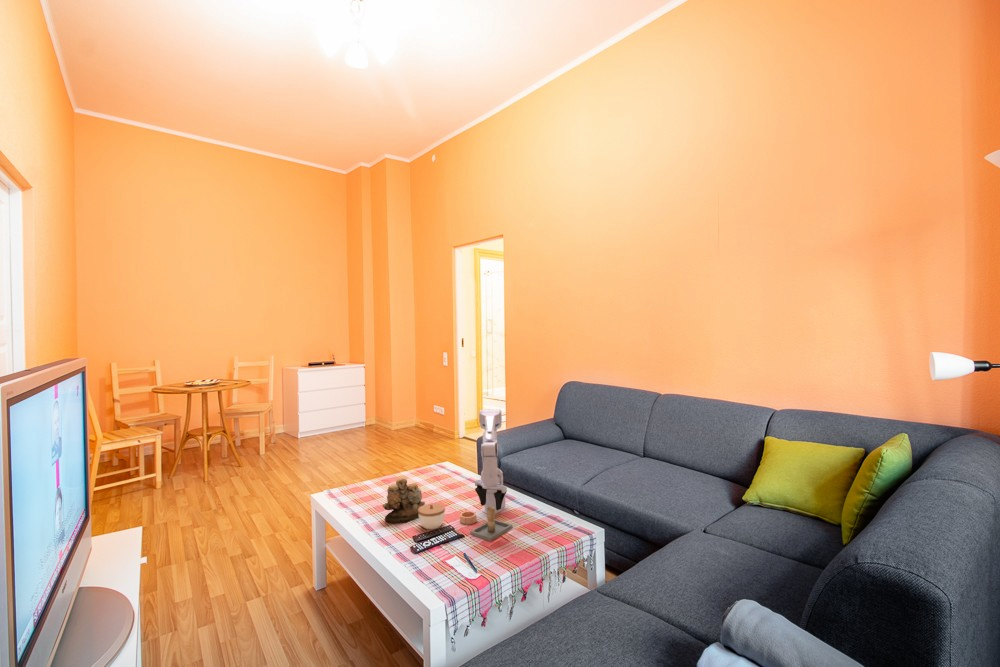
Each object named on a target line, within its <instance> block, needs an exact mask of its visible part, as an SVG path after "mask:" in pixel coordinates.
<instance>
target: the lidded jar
mask: <svg viewBox="0 0 1000 667" xmlns="http://www.w3.org/2000/svg"><path fill="white" fill-rule="evenodd" d="M445 507H446V506H445V505H444V504H442V503H437V502H436V503H434V502H433V503H432V502H431V503H427V504H426V503H425V504H424V505H423V506H421V507H420V508H419V509H418V513H419V518H418V521H419V524H420V526H422V528H424V529H426V530H436V529H439V528H440V527H441V526H442V524H443V523H444V521H445V515H446V514H445V511H446V508H445Z"/></svg>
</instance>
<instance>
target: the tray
mask: <svg viewBox="0 0 1000 667" xmlns="http://www.w3.org/2000/svg"><path fill="white" fill-rule="evenodd" d="M511 529H513V524H511V523H507V522H505V521H501V520H499V519H495V532H493V533H489V532H488V525H487V521H486V522H484V523H482V524H481V525H479V526H477V527H475V528H474V529H471V530H470V531H469V535H471V536H474V537H476V538H479V539H482V540H485V541H488V542H492V541H494V540H495V539H497V538H498V537H500V536H502V535H503V534H505V533H506V532H508V531H510V530H511Z"/></svg>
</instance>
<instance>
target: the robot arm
mask: <svg viewBox="0 0 1000 667" xmlns="http://www.w3.org/2000/svg"><path fill="white" fill-rule="evenodd" d="M478 417H479V421H478V423H479V426H480V428H481V429H482V430H484V431H483V432H482V433H483V434H482V443H481V444H480V454H481V463H482V470H481V473H480V479H476V480H474V486H475V488H474V490H475V492H476V495H477V497H478V498H479V502H480V505H481V507H482V506H483V508H481V509H480V511H481V512H484V513H487V508H488V507H494V508H495V515H496V514H498V513H500V512H502V511H503V510H505V509H507V507H508V506H506V494H507V492H508V491H507V490H508V487H507V486H505V485H504V475H503V474H504V473H503V471H502V470H501V469H500V468H499V467H498V456H499V444H498V434H497V432H498V430H499V429H500V428H502V422H503V421H502V420H503V419H502V410H501V408H500V409H480V410H479V412H478Z"/></svg>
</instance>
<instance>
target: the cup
mask: <svg viewBox="0 0 1000 667" xmlns="http://www.w3.org/2000/svg"><path fill="white" fill-rule="evenodd" d="M459 521H460V522H459V523H460V524H463V525H473V524H475V523H476V522H477V513H476V512H475V511H471V510H467V511H466V510H465V511H463V512H460V513H459Z"/></svg>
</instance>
